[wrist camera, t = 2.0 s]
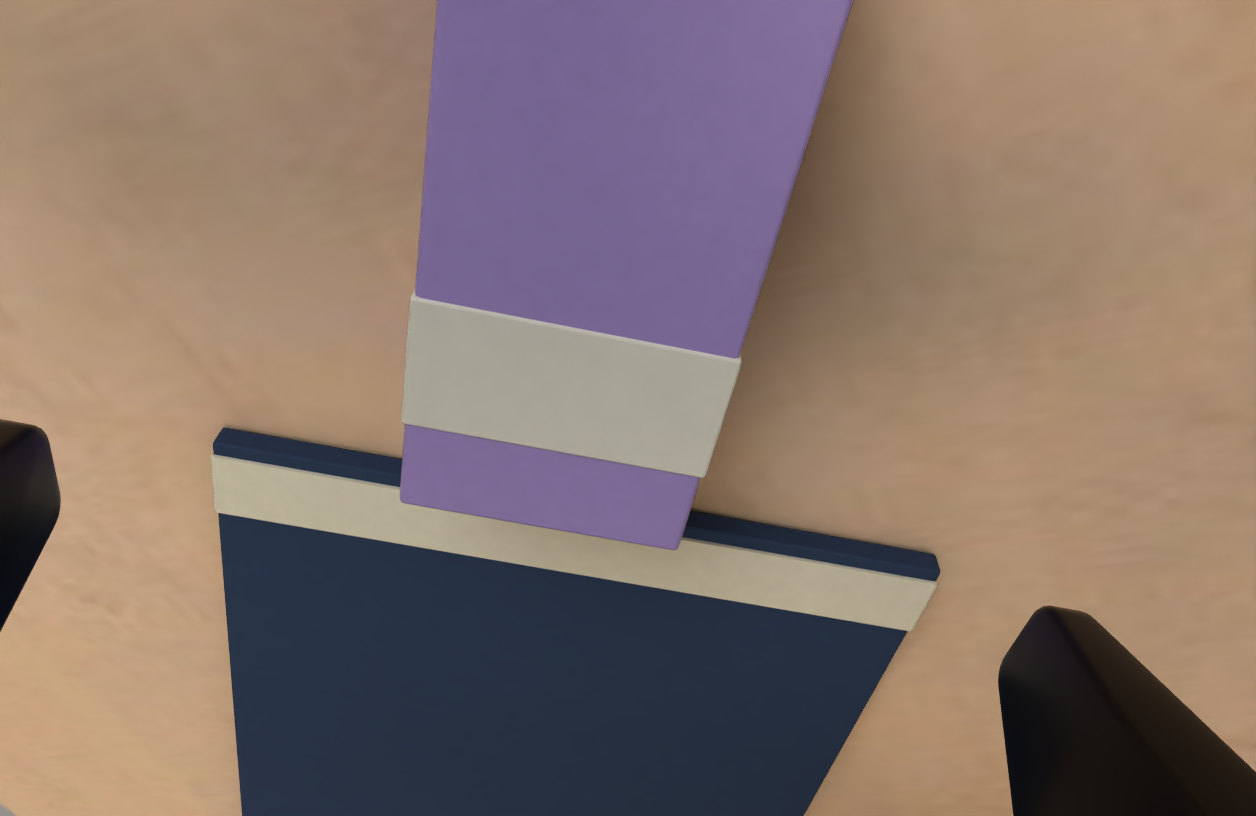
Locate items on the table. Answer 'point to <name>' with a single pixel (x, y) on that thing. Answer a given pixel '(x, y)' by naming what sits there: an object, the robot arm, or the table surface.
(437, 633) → the towel
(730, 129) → the chocolate
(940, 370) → the table surface
